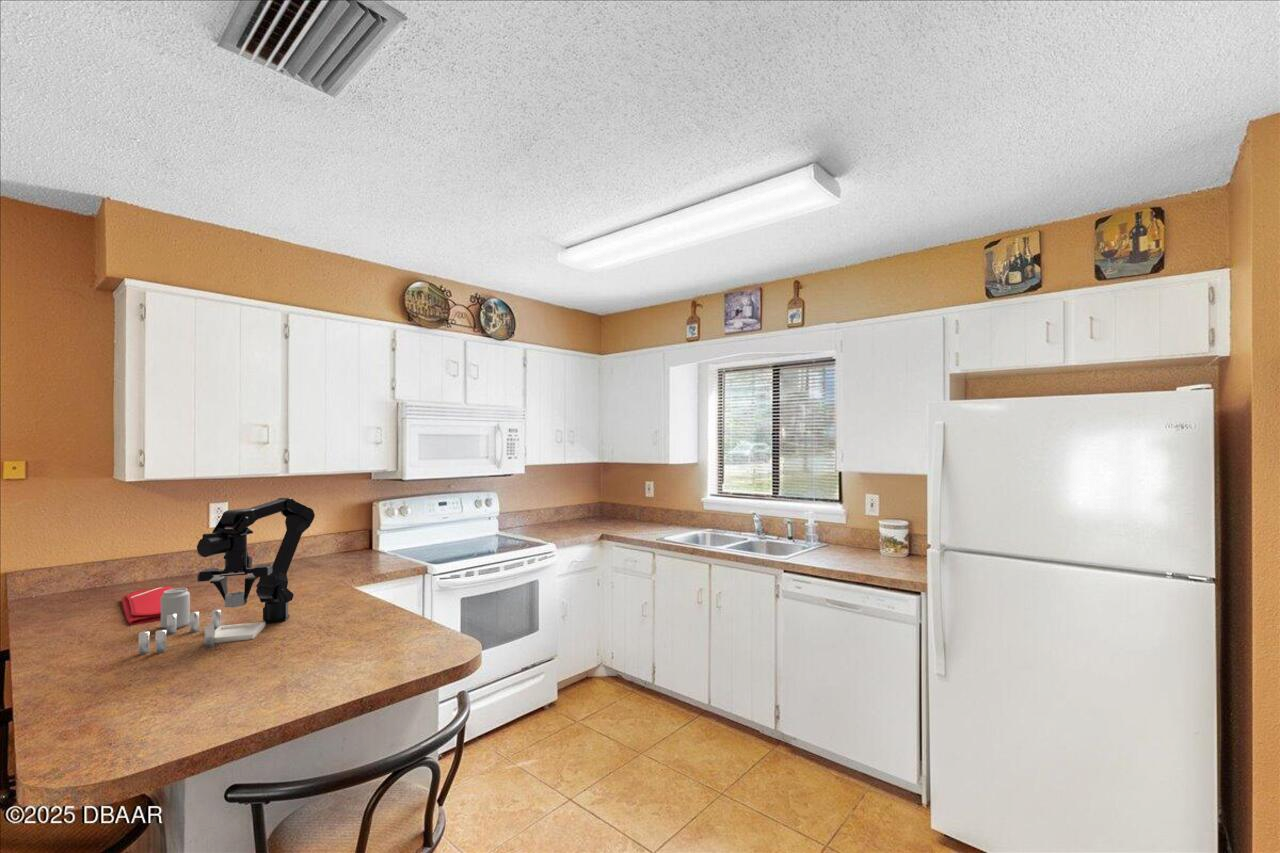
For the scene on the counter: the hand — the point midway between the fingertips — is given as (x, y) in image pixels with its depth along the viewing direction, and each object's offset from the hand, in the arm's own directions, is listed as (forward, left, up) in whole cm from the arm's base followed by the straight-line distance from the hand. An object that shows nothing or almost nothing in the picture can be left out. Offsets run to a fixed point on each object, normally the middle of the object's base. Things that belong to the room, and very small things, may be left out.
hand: (236, 600), depth 182 cm
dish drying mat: (+39, -44, -12) cm, 61 cm away
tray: (0, 0, -11) cm, 11 cm away
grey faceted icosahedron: (0, 0, -2) cm, 2 cm away
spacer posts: (+12, 0, -11) cm, 16 cm away
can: (+22, -16, -11) cm, 30 cm away
